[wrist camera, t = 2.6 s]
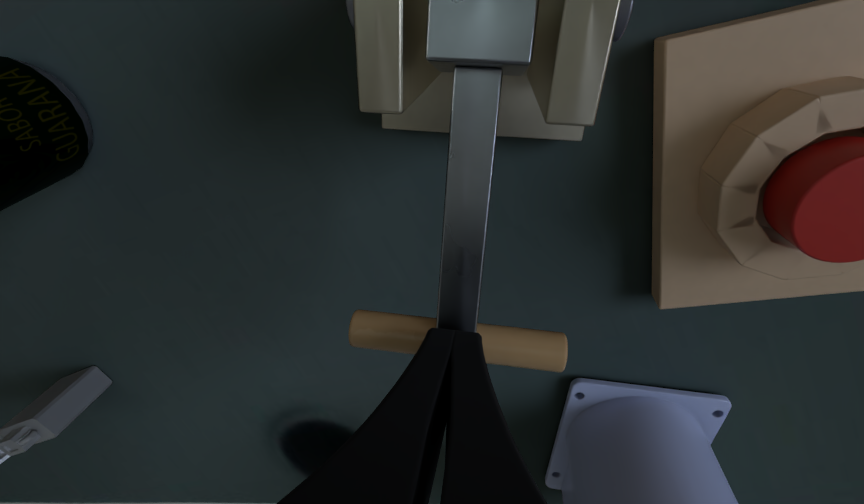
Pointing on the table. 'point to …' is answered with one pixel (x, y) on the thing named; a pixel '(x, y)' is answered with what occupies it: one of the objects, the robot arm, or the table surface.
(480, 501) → the robot arm
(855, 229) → the button
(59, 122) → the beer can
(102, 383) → the lighter
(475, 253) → the lever
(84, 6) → the table surface
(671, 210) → the control block
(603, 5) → the bracket
